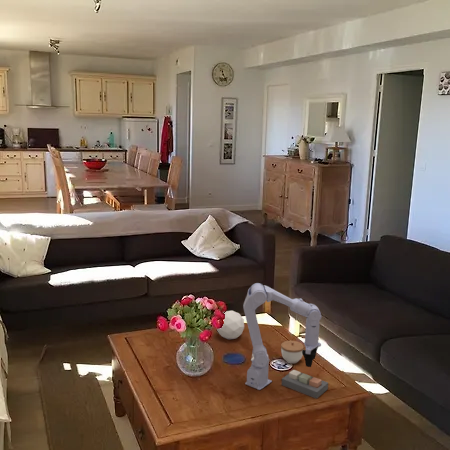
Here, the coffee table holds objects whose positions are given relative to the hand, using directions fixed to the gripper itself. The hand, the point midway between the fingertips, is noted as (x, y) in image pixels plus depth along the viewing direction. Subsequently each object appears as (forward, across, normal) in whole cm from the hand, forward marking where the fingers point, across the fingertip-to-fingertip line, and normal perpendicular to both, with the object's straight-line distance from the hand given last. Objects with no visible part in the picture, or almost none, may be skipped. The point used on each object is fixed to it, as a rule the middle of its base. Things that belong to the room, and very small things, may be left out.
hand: (310, 362), depth 221 cm
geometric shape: (+10, +30, +48) cm, 57 cm away
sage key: (+7, -4, +1) cm, 9 cm away
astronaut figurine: (+10, +12, +26) cm, 31 cm away
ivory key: (+7, -3, +6) cm, 10 cm away
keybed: (+10, -4, +1) cm, 11 cm away
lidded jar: (+10, +17, +12) cm, 23 cm away
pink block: (+7, -6, -4) cm, 10 cm away
